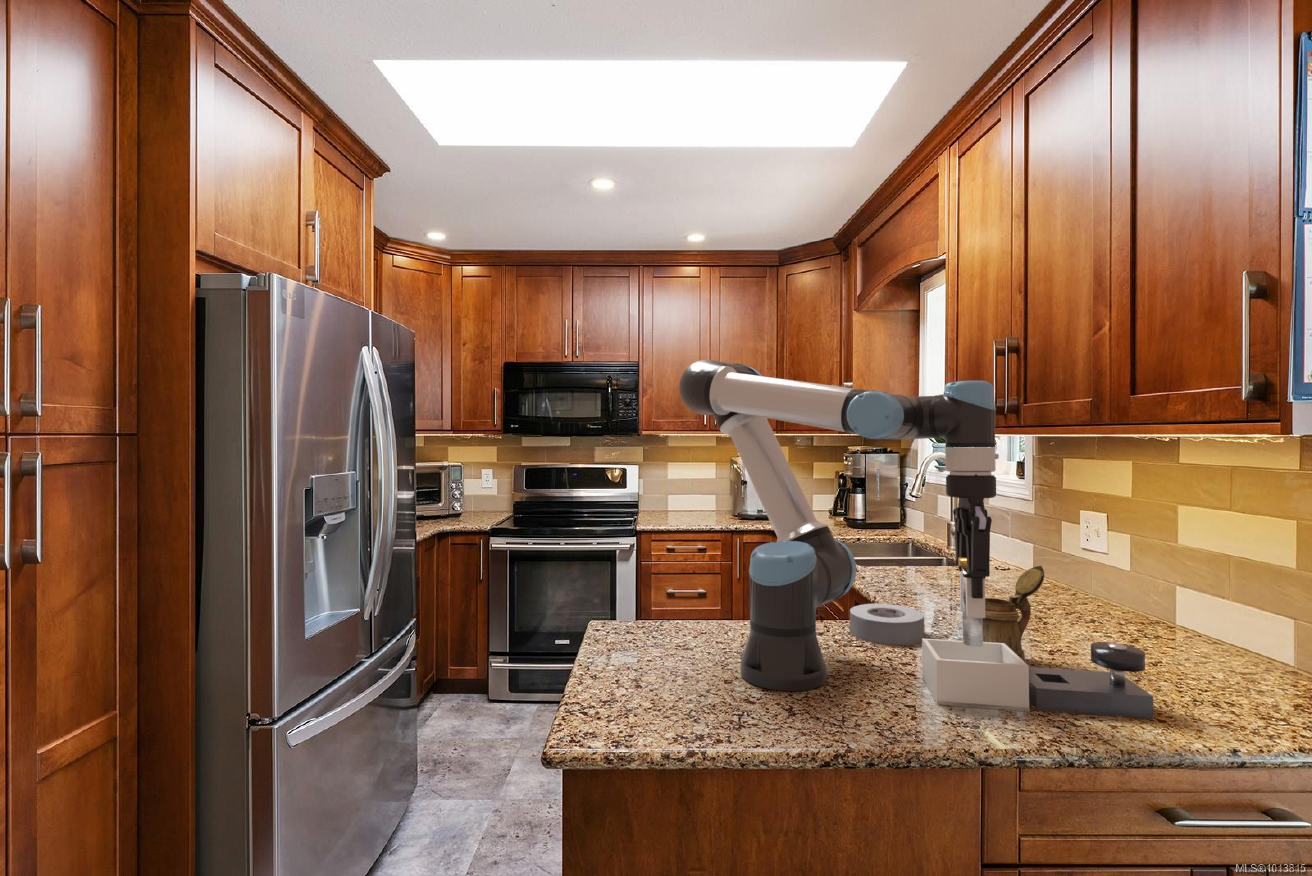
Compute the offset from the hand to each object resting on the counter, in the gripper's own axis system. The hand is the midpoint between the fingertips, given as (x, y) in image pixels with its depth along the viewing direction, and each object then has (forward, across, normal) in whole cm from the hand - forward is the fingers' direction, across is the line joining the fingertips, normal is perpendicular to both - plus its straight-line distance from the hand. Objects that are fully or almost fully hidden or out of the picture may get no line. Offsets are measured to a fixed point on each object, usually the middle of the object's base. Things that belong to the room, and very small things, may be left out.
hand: (972, 613), depth 105 cm
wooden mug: (+14, +20, -12) cm, 27 cm away
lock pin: (+5, 0, 0) cm, 5 cm away
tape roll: (+14, +32, +9) cm, 36 cm away
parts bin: (+13, 0, 0) cm, 13 cm away
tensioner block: (+13, 0, -16) cm, 21 cm away
